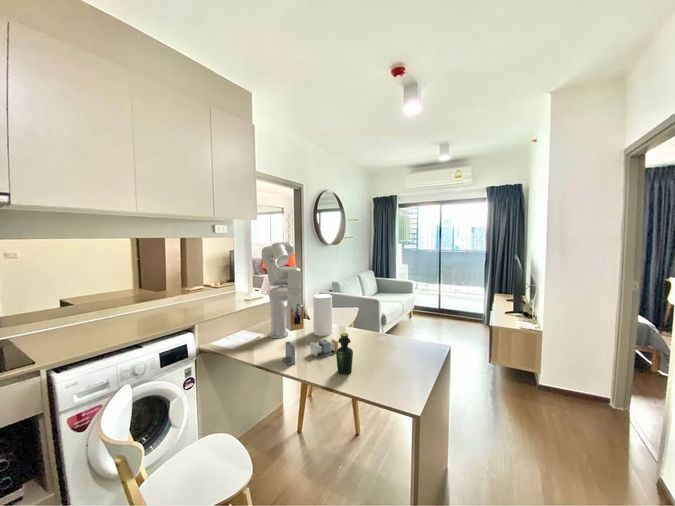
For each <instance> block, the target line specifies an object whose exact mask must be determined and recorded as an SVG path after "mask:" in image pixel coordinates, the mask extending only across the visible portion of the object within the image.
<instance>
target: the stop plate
mask: <svg viewBox="0 0 675 506" xmlns="http://www.w3.org/2000/svg"><path fill="white" fill-rule="evenodd" d="M281 360H282V362H284V363H285V365H286V366H288V367H289V366H292V365H295V364H296V346H295V345H294V344H293V343H292V342H291V341H286V342H285V357H282V358H281Z"/></svg>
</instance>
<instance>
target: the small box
mask: <svg viewBox="0 0 675 506" xmlns="http://www.w3.org/2000/svg"><path fill="white" fill-rule="evenodd" d="M285 309H286V330H288V332H289V331H290V332H294V331H298V330H304V329H305V327H304V324H305V323H304V322H305V321H304V318H305V317H304V305H302V304H301V315H300V324H296V325H295V324H294V317H295V312H294V313H293V312H292V307H290V306H287V305H285ZM296 311H298V310H296ZM296 315H297V313H296Z"/></svg>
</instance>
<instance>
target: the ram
mask: <svg viewBox="0 0 675 506" xmlns="http://www.w3.org/2000/svg"><path fill="white" fill-rule="evenodd" d="M329 342H330V350H331V351H333V350H334V351H335V352H336V351H337V349H338V348H339V342H338V341H337V340H336V339H333V338H331V341H329ZM322 352H323V345H321V344H315V343H314V342H312V341H310V354H311V355H312V356H314V357H315V358H316V357H318V354H320V353H322Z"/></svg>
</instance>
